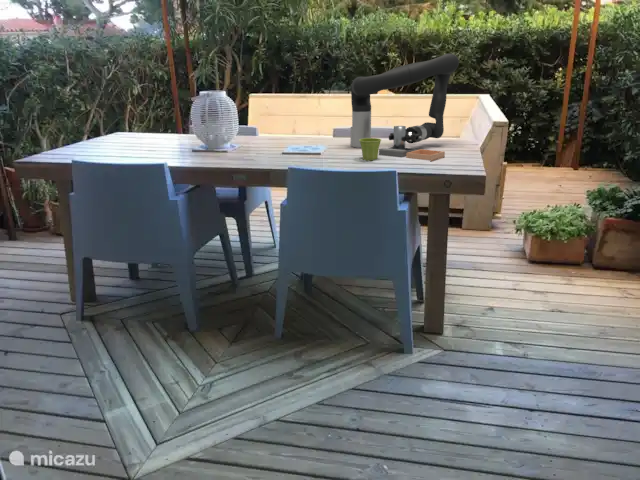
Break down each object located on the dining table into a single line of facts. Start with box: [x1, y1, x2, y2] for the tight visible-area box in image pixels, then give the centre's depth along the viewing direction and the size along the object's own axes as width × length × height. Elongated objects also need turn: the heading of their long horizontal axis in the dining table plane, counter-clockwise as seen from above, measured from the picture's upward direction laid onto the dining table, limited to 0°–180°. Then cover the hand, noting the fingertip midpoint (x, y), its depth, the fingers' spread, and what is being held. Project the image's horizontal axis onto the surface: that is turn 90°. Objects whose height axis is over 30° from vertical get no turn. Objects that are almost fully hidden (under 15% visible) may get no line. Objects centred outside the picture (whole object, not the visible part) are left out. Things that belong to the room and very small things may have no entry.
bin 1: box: [378, 146, 417, 158], centre depth 244 cm, size 12×12×3 cm
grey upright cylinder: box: [392, 125, 407, 150], centre depth 243 cm, size 5×5×12 cm
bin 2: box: [405, 148, 446, 163], centre depth 235 cm, size 12×12×3 cm
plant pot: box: [359, 137, 382, 162], centre depth 234 cm, size 9×9×9 cm
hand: (396, 138), depth 241 cm, fingers open, 7 cm apart
